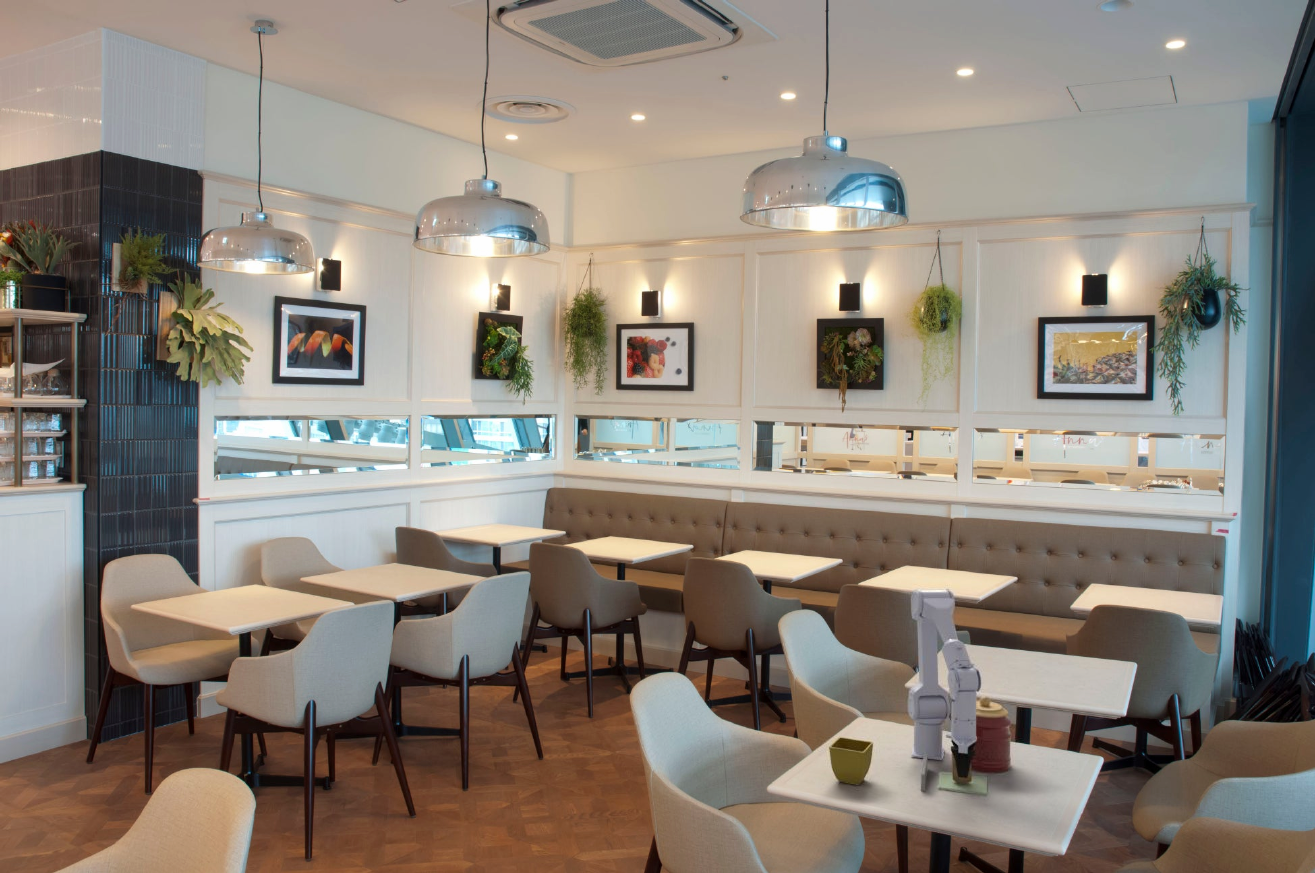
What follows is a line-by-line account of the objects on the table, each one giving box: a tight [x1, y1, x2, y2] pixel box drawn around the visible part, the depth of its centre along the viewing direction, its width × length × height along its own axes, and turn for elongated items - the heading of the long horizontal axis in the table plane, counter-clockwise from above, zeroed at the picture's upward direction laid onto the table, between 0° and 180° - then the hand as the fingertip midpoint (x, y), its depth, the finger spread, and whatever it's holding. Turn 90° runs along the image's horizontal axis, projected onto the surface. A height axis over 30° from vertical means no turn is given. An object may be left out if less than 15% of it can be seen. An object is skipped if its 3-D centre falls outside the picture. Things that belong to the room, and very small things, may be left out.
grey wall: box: [920, 753, 929, 792], centre depth 236 cm, size 16×1×4 cm, turn 162°
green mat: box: [937, 771, 988, 796], centre depth 234 cm, size 11×11×1 cm
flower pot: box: [828, 736, 874, 786], centre depth 235 cm, size 9×9×9 cm
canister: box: [971, 695, 1012, 774], centre depth 247 cm, size 13×13×18 cm
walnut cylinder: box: [951, 753, 972, 783], centre depth 233 cm, size 4×4×6 cm
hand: (962, 773), depth 233 cm, fingers closed on walnut cylinder, 4 cm apart
